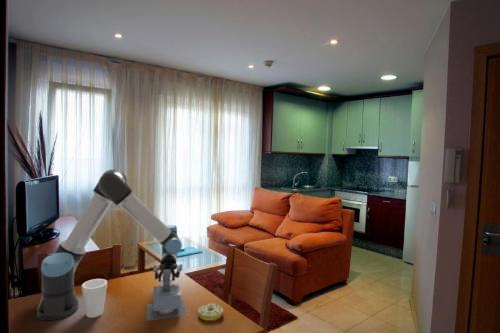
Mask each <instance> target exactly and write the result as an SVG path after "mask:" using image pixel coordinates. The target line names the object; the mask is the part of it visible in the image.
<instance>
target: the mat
mask: <svg viewBox="0 0 500 333" xmlns="http://www.w3.org/2000/svg"><path fill="white" fill-rule="evenodd" d="M178 317H179V318H180V317H187V312H186V306H185V301H184V299H181V308H176V309H174V311H173V312H171V313H168V314H161V313H159V312H158V311H154V303H147V304H146V321H147V322H148V321H157V320H164V319H165V320H166V319H171V318H172V319H173V318H178Z"/></svg>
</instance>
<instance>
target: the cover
mask: <svg viewBox="0 0 500 333" xmlns="http://www.w3.org/2000/svg"><path fill="white" fill-rule="evenodd" d="M170 273H171V270H170V269H165V270H163V286H161V285H157V286H156V285H155V286H153V294H152V295H153V300H152V301H153V303H154V311H160V310H168V309H176V308H181V300H182V297H181V296H182V294H181V290H180V284H179V283H172V286H170Z"/></svg>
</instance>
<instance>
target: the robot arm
mask: <svg viewBox="0 0 500 333" xmlns="http://www.w3.org/2000/svg"><path fill="white" fill-rule="evenodd" d="M92 192H93V196H92V198H91V199H90V201H89V203H88V204H87V206H86V208H85V210H84V211H83V213H82V214H81V215H80V218H79V219H78V220H77V222H76V224H75V225H74V227H73V229H72V230H71V232H70V234H69V235H68V237H67V238H66V239H65V240H63V241H61V242H60V243H59V245H58V246H57V248H56V249H55V251H54V252H53V253H52V254H51V255H48V256H46V257H45V258H43V260H42V262H41V266H40V272H41V298H40V301H39V304H38V307H37V310H36V316H37V318H38V319H39V320H41V321H55V320H60V319H64V318H66V317H69V316H71V315H73V314H74V313H76V312H77V311H78V310H79V306H80V305H79V304H80V303H79V299H78V297H77V294H76V292H75V272H76V270H77V268H78V265H79V264H80V262H81V260H82V259H83V257H84V256H85V254H86V252H87V251H86V248H85V247H86V246H87V244H88V242H89V241H90V239H91V237H92V236H93V235H94V232H95V231H96V230H97V228H98V226H99V224H100V222H101V221H102V219H103V218H104V216H105V214H106V213H107V212H108V210H109V208H110V207H111V205H112V204H114V205H115V206H116V207H119V206H120V207H121V208H122V209H123V210H124V211H125V212H127V214H129V215H130V217H131V218H133V219H134V220H135V221H136V222H137V223H138V224H139V225H140V226H141V227H142V228H143V229H144V230H146V231H147V232H148V234H150V236H152V237H153V239H155V240H156V241H157V242H158V243H159V244H160V246H161V258H160V263H159V265H153V268H152V271H153V272H154V280H158V282H160V286H163V270H165V269H170V270H171V273H170V286H172V285H173V282H175V280H176V278H177V279H179V278H180V275H181V272H182V270H183V264H182V263H180V264H177V261H178V260H177V258H178V257H177V256H178V253H179V252H180V251H181V250H182V246H183V245H182V240H181V239H180V238H179V236H178V228H177V225H175V224H165V223H164V222H163V221H162V220H161V219H160V218H159V217H158V216H157V215H156V214H155V213H154V212H152V210H150V208H148V207H147V206H146V204H144V203H143V202H142V201H141V200H140V198H139V197H137V196H136V195H135V194H134V189H133V188H131V186H130V185H129V183H128V179H127V177H126V175H125V174H124V172H122V171H120V170H118V169H109V170H106V171H105V172H104V173H103V174H102V175H101V177H100V178H99V180H98V182H97V184H96V185H95V187H94V188H93V190H92ZM175 270H176V271H175ZM159 271H160V272H159Z"/></svg>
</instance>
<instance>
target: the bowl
mask: <svg viewBox="0 0 500 333" xmlns="http://www.w3.org/2000/svg"><path fill="white" fill-rule="evenodd" d="M173 311H174V309H168V310H160V311H158V312H159V313H161V314H168V313H171V312H173Z"/></svg>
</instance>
